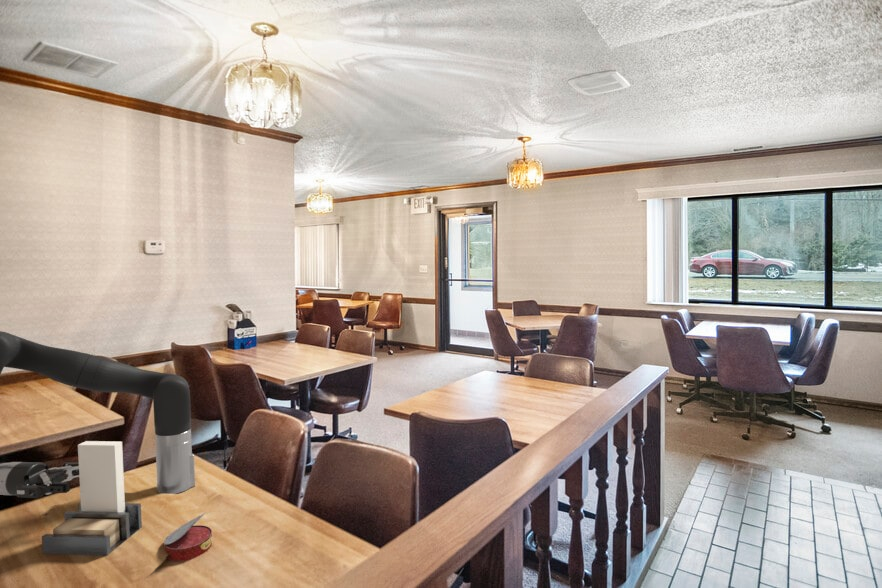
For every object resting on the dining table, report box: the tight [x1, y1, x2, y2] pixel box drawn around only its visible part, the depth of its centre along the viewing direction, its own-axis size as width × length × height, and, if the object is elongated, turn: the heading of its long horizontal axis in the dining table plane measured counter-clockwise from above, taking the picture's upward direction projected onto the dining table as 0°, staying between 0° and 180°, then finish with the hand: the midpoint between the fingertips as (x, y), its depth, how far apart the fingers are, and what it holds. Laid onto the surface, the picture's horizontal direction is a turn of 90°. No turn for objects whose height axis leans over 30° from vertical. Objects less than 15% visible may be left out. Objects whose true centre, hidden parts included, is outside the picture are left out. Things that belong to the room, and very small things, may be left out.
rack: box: [41, 502, 143, 557], centre depth 114 cm, size 15×12×8 cm
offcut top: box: [52, 518, 119, 536], centre depth 112 cm, size 12×5×2 cm, turn 87°
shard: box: [41, 503, 65, 518], centre depth 127 cm, size 11×8×2 cm
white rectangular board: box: [77, 440, 126, 512], centre depth 116 cm, size 9×2×22 cm, turn 87°
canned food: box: [163, 512, 213, 562], centre depth 113 cm, size 11×10×10 cm
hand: (83, 479), depth 117 cm, fingers open, 8 cm apart
